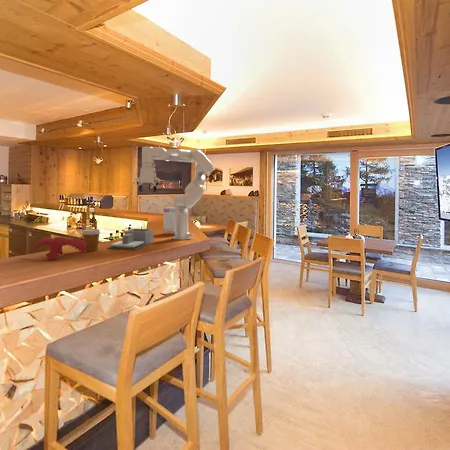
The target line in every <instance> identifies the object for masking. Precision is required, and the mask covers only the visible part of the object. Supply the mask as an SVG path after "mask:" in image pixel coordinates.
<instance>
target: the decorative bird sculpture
mask: <svg viewBox="0 0 450 450" xmlns="http://www.w3.org/2000/svg"><path fill="white" fill-rule="evenodd" d="M44 245H46V246H47V245H48V247H49V250H50V251H48V252H47V253H46V254H45V256H46V258H47V260H50V261H53V260H54V261H55V259H56V257H59V255H62V257H64V256H65V254H64V253H63V246H68V247H72V248H74V249H75V250H78V251H80V253H81V254H82V253H86V252H87V251H86V249H87V244H86V242H85V241H84V239H81V238H79V237H77V238H67V237H62V236H56V237H53V238H52V237H51V236H47V237H44V238H42V239H40V240H38V241H36V243H35V244H34V247H33V249H32V250H33V251H35V250H36V249H37V248H38V247H40V246H44Z"/></svg>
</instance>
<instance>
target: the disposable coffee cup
mask: <svg viewBox="0 0 450 450" xmlns="http://www.w3.org/2000/svg"><path fill="white" fill-rule="evenodd" d="M81 233H82V237H83V241H85V242H86V244H87V249H86V251H85V252H88V253H93V252H97V251H99V250H98V249H99V239H100V235H101V234H100V233H101V232H100V229H98V228H86V229H83V230H82V232H81Z"/></svg>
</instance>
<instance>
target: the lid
mask: <svg viewBox="0 0 450 450" xmlns="http://www.w3.org/2000/svg"><path fill="white" fill-rule="evenodd" d="M121 239H122V240H119V241H116V242H113V243H111V244H110V247H111V246H115V247H122V248H134V247H137V246H139V245H141V244H143V243H144V241H134V234H125V233H124V234H123V235H122V236H121Z"/></svg>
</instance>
